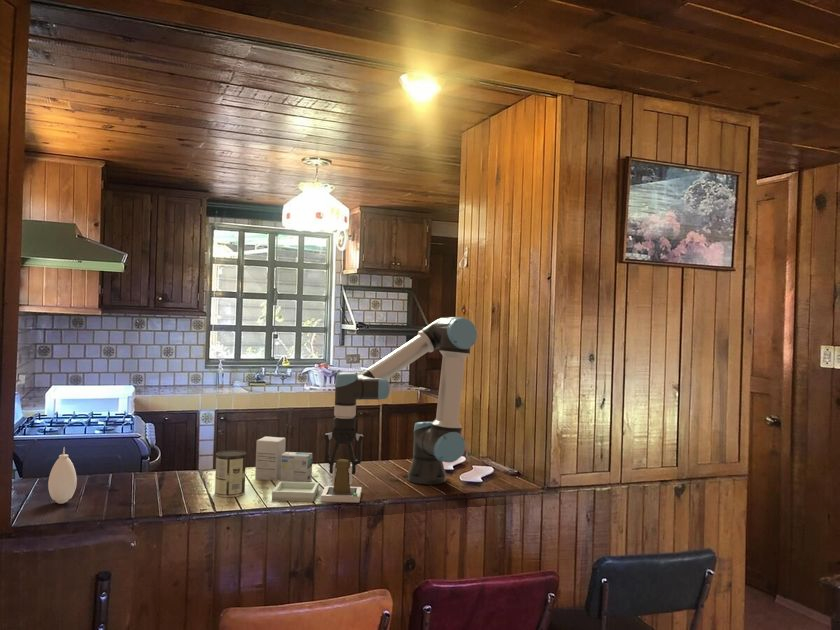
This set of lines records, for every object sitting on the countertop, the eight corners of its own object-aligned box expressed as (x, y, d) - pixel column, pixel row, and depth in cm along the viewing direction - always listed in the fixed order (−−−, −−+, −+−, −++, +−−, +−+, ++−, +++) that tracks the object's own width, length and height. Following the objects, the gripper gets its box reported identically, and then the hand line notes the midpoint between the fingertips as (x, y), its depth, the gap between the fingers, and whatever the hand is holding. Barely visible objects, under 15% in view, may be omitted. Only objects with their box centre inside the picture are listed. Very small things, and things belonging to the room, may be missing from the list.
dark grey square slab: (355, 492, 234) (355, 488, 234) (353, 499, 225) (353, 494, 225) (330, 491, 234) (330, 487, 234) (327, 498, 225) (327, 494, 225)
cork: (333, 488, 232) (334, 457, 232) (350, 489, 233) (351, 458, 233) (332, 493, 226) (333, 461, 226) (350, 493, 226) (351, 461, 227)
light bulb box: (312, 480, 250) (313, 452, 251) (307, 485, 244) (308, 456, 244) (284, 479, 252) (285, 451, 252) (279, 483, 245) (280, 454, 245)
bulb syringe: (56, 507, 204) (58, 450, 204) (42, 503, 208) (45, 446, 209) (80, 502, 211) (82, 446, 211) (66, 498, 215) (69, 443, 215)
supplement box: (263, 473, 258) (264, 436, 259) (285, 475, 257) (286, 437, 257) (254, 479, 249) (255, 439, 250) (276, 480, 248) (278, 441, 248)
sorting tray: (318, 490, 236) (318, 482, 236) (313, 501, 222) (313, 492, 222) (279, 489, 236) (279, 481, 236) (271, 500, 222) (272, 491, 222)
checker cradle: (361, 492, 236) (361, 484, 236) (359, 502, 223) (359, 494, 223) (325, 491, 236) (325, 483, 236) (320, 501, 223) (321, 493, 223)
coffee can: (228, 488, 235) (229, 449, 235) (251, 492, 231) (252, 452, 231) (207, 494, 226) (209, 453, 226) (231, 499, 221) (232, 457, 221)
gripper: (371, 416, 234) (368, 481, 233) (320, 414, 233) (317, 479, 233) (370, 419, 226) (367, 486, 226) (317, 417, 226) (314, 485, 225)
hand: (342, 483), depth 229 cm, fingers closed on cork, 5 cm apart
